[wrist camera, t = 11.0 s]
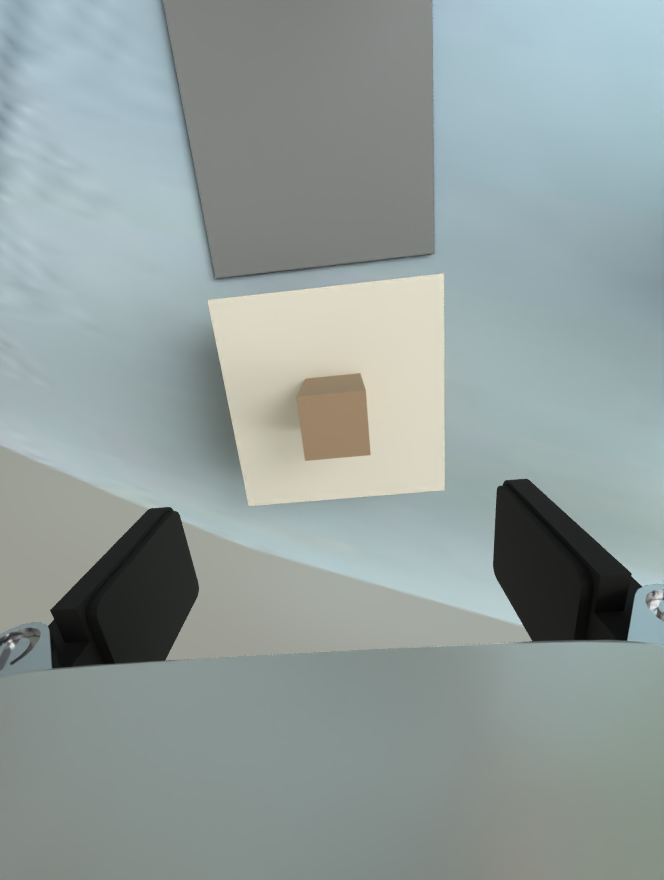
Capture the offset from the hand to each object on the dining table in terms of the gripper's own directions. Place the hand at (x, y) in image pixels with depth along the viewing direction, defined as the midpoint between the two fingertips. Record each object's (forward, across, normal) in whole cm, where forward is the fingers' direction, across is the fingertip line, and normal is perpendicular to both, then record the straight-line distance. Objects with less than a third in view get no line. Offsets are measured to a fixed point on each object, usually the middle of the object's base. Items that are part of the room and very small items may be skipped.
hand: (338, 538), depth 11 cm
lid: (+18, 0, 0) cm, 18 cm away
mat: (+24, 0, -19) cm, 31 cm away
